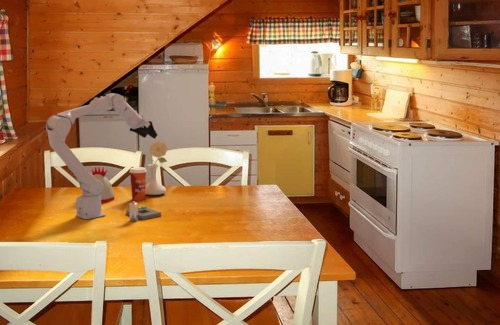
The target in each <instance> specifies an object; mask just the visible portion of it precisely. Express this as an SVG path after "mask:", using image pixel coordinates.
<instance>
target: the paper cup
mask: <svg viewBox="0 0 500 325" xmlns="http://www.w3.org/2000/svg"><path fill="white" fill-rule="evenodd" d="M147 172H148V171H147V169H146V167H144V166H143V167H142V166H140V167H139V166H136V167H130V169H129V172H128V173H129V175H130V187H131V197H132V200H133V201H134V202H136V201H139V202H140V201H144V200H146V194H145V188H146V185H147V182H146V180H147Z"/></svg>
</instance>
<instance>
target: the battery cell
mask: <svg viewBox="0 0 500 325" xmlns="http://www.w3.org/2000/svg"><path fill="white" fill-rule="evenodd" d="M128 204H129V208H128V210H129V212H130V215H129V222H134V223H136V222H139V221H138V220H139V219H138V208H139V207H138V206H139V205H138V202H136V201H131V202H129V203H128Z"/></svg>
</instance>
